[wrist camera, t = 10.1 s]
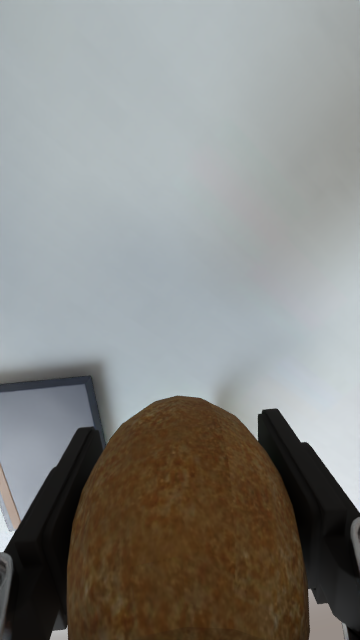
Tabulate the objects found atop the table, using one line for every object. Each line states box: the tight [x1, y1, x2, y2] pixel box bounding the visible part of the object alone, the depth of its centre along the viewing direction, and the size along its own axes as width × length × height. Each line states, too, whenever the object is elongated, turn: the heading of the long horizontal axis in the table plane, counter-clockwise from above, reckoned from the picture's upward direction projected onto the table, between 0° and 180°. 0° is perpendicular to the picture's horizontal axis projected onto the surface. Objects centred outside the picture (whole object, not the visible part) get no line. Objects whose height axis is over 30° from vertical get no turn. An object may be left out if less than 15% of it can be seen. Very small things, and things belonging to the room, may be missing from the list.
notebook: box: [0, 376, 106, 531], centre depth 19 cm, size 13×9×1 cm
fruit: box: [67, 396, 310, 640], centre depth 7 cm, size 6×6×8 cm
